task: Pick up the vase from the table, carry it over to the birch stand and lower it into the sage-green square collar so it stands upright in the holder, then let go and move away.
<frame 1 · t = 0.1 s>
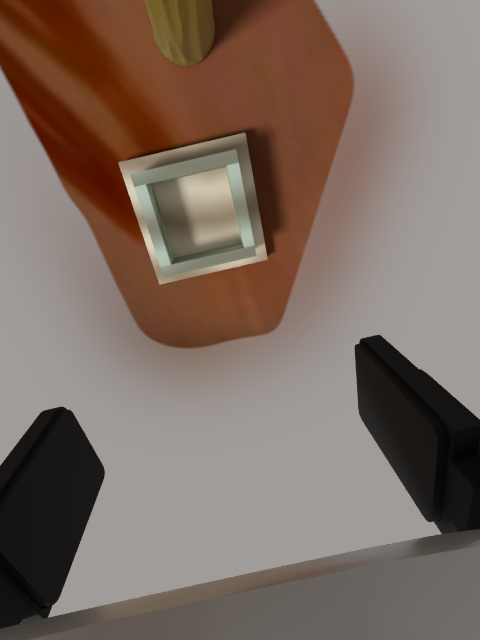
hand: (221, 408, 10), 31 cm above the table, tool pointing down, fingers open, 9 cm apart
vase: (183, 28, 30), on the table
vase stand: (199, 213, 37), on the table
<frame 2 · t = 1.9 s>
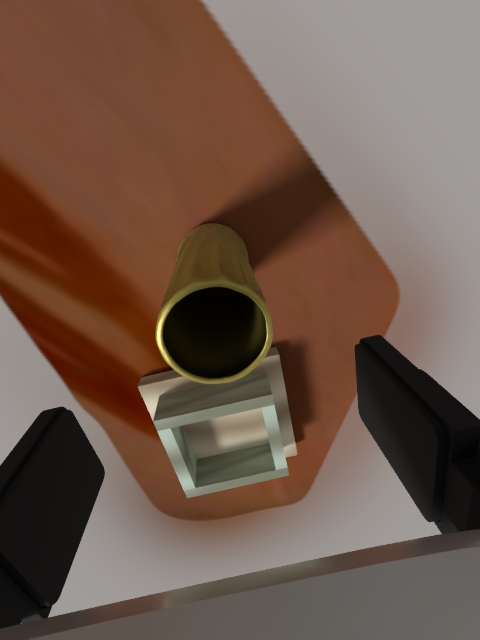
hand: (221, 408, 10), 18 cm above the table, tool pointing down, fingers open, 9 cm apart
vase: (213, 259, 26), on the table
vase stand: (224, 413, 34), on the table
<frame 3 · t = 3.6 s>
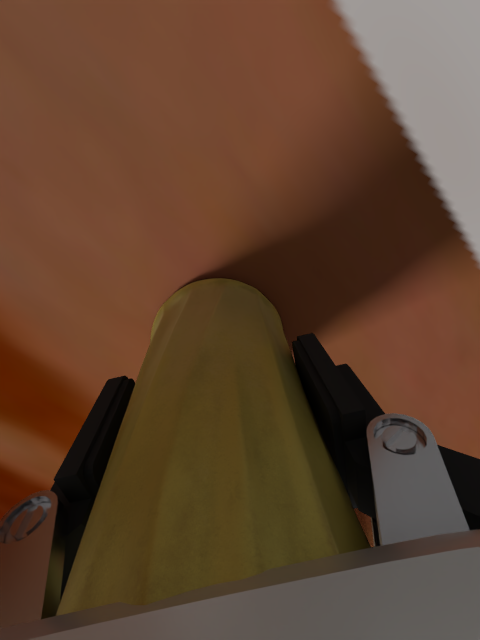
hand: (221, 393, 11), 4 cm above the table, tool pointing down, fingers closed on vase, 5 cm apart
vase: (218, 337, 14), on the table, touching gripper
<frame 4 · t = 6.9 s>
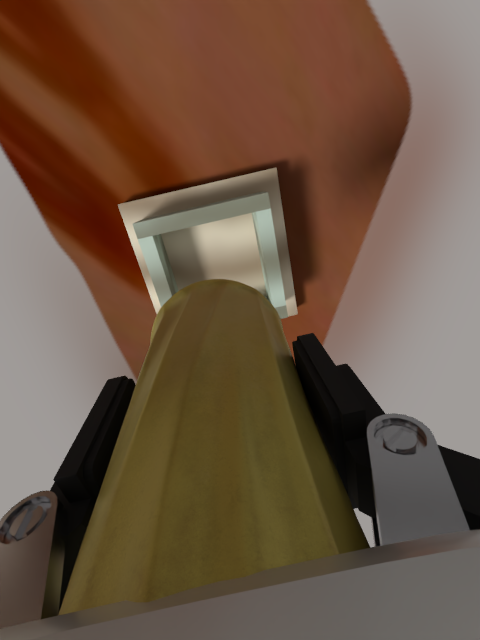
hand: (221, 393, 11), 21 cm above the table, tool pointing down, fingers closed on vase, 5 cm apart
vase: (218, 338, 14), point 17 cm above the table, touching gripper
vase stand: (216, 261, 30), on the table
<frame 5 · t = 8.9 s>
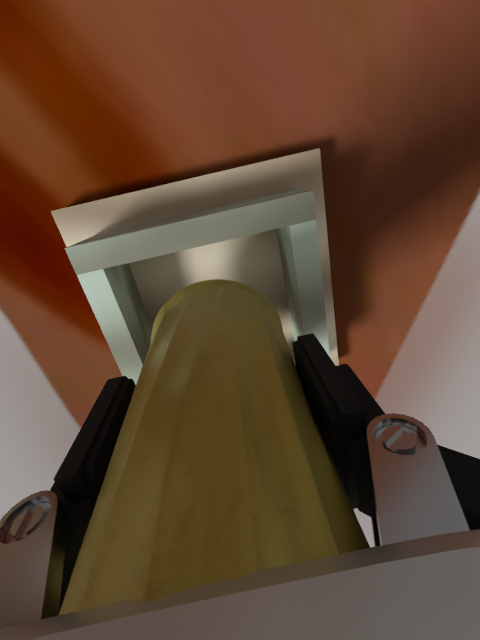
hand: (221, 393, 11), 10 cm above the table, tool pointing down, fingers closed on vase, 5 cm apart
vase: (218, 338, 14), point 6 cm above the table, touching gripper
vase stand: (217, 296, 20), on the table
when the fingers open (7 cm above the table, at t = 10.3 s): vase drops 2 cm, resting on vase stand.
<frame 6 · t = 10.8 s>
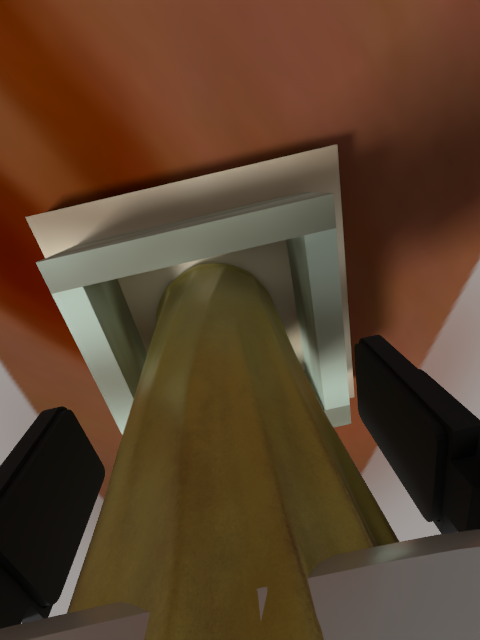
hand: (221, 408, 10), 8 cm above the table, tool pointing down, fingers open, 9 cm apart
vase: (216, 318, 16), point 1 cm above the table, touching vase stand
vase stand: (218, 312, 17), on the table
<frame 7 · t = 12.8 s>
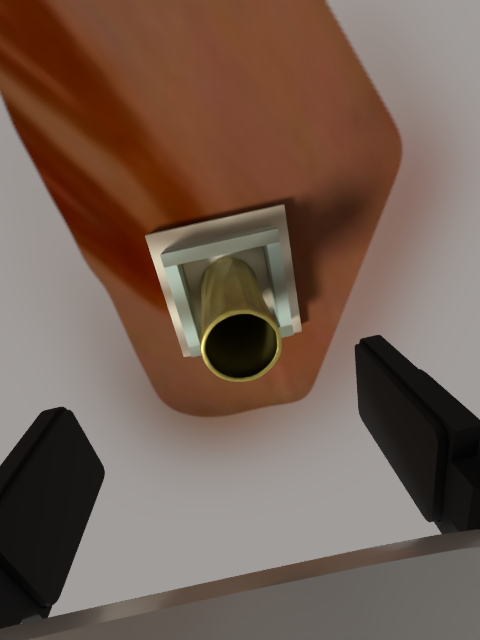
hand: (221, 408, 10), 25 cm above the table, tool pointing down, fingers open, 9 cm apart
vase: (228, 285, 32), point 1 cm above the table, touching vase stand
vase stand: (229, 283, 34), on the table
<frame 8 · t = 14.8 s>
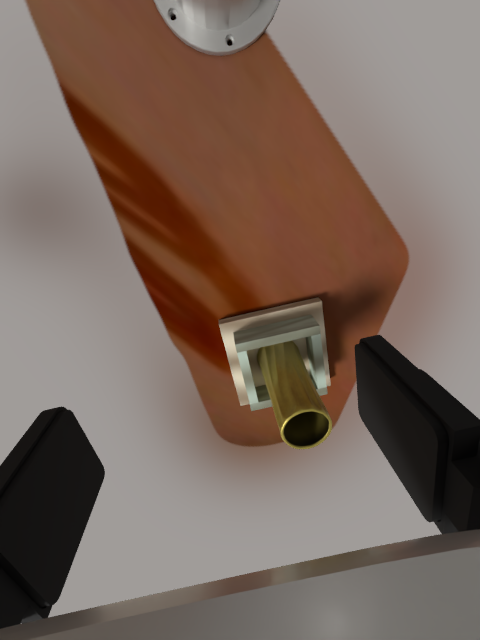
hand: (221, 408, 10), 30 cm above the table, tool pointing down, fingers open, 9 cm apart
vase: (277, 355, 43), point 1 cm above the table, touching vase stand
vase stand: (276, 351, 44), on the table
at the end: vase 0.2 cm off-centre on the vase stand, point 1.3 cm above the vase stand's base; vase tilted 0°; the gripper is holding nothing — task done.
